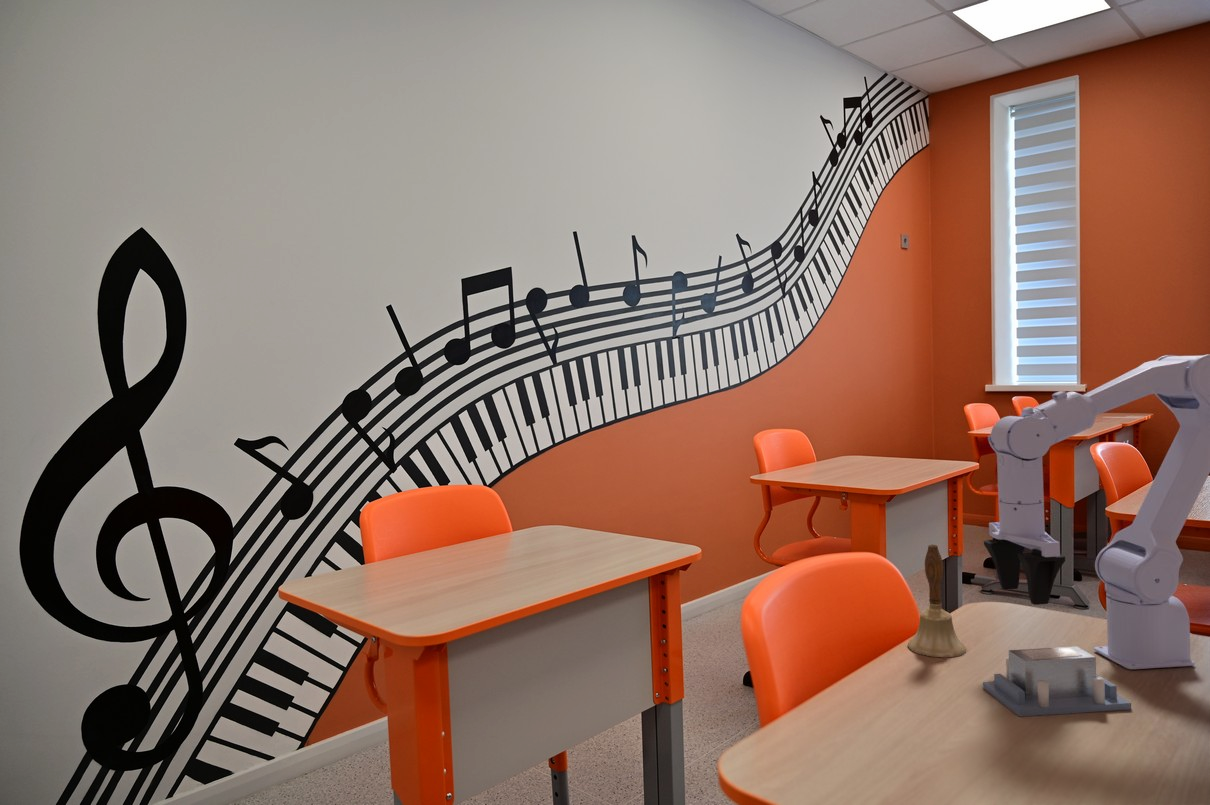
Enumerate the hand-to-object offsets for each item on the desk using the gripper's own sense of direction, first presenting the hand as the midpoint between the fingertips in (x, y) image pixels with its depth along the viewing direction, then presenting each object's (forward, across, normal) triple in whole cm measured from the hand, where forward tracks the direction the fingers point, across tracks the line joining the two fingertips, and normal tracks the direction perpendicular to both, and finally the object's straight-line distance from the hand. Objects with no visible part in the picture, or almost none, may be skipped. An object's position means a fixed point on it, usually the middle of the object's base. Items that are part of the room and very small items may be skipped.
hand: (1024, 595), depth 115 cm
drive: (+9, +12, -3) cm, 15 cm away
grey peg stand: (+10, +12, -3) cm, 15 cm away
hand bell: (+10, -9, -9) cm, 16 cm away
